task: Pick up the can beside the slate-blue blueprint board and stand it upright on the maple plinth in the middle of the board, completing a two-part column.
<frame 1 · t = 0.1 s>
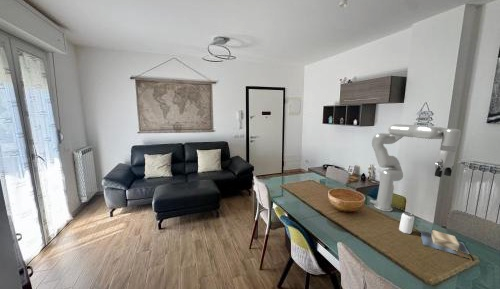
hand: (442, 176, 128), 37 cm above the table, tool pointing down, fingers open, 9 cm apart
can: (404, 231, 132), on the table
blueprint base: (443, 244, 120), on the table
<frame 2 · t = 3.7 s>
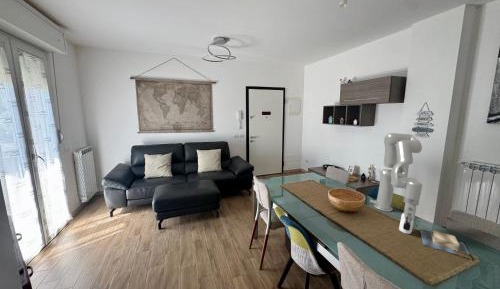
hand: (405, 226, 131), 3 cm above the table, tool pointing down, fingers closed on can, 6 cm apart
can: (405, 231, 132), on the table, touching gripper
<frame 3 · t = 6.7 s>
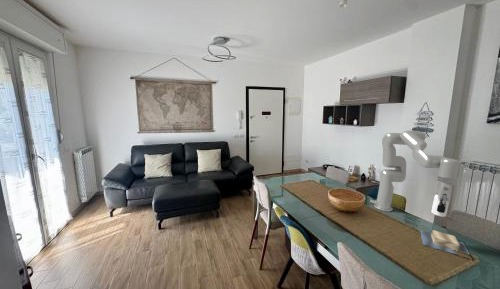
hand: (439, 209, 120), 20 cm above the table, tool pointing down, fingers closed on can, 6 cm apart
can: (438, 214, 120), point 17 cm above the table, touching gripper
when the fingers open (9 cm above the table, at t = 9.9 s): can drops 1 cm, resting on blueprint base.
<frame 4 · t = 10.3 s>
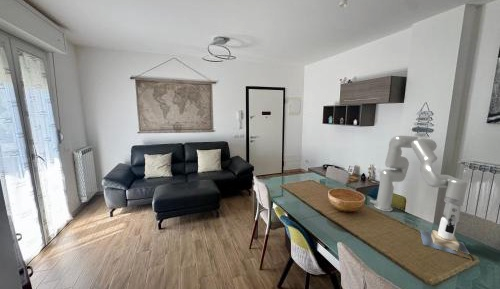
hand: (447, 228, 119), 10 cm above the table, tool pointing down, fingers open, 9 cm apart
can: (444, 237, 119), point 5 cm above the table, touching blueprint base
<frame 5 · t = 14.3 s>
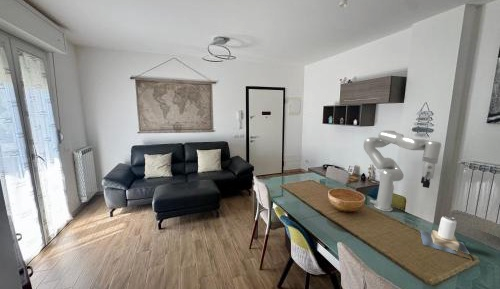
hand: (424, 185, 136), 28 cm above the table, tool pointing down, fingers open, 9 cm apart
nothing on the table moved.
at the end: can inside the target area on the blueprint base (0.4 cm from its centre), point 4.6 cm above the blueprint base's base; can tilted 0°; the gripper is holding nothing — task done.
